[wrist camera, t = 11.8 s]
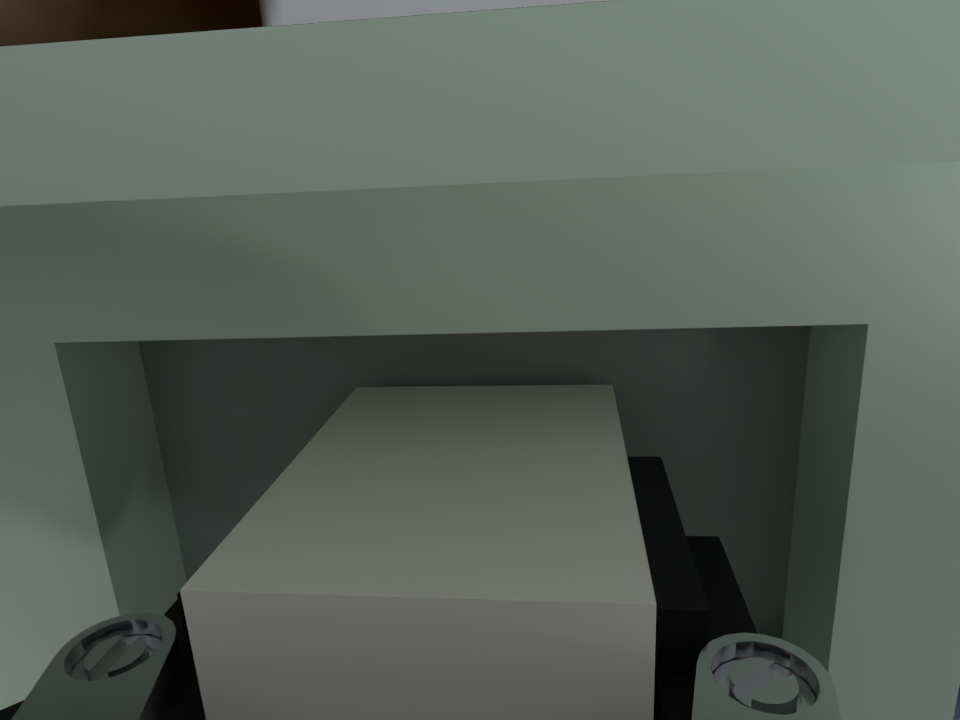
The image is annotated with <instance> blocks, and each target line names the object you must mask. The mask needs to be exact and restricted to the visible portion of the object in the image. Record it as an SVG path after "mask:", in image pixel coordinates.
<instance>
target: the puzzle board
mask: <svg viewBox="0 0 960 720" xmlns="http://www.w3.org/2000/svg"><path fill="white" fill-rule="evenodd" d="M509 385H613V389H614V394H615V399H616V404H617V409H618V414H619V419H620V424H621V429H622V434H623V439H624V444H625V449H626V454H627V456H647V457H661V458H662V461H663V464H664V467H665V471H666V474H667V477H668V480H669V483H670V487H671V490H672V493H673V496H674V500H675V503H676V506H677V509H678V512H679V516H680V519H681V522H682V525H683V529H684V532H685V535H686V536H717V537H719V539H720V541H721V542H722V545H723V547H724V550H725V552H726V555H727V558H728V560H729V563H730V565H731V568H732V570H733V573H734V575H735V578H736V580H737V583H738V585H739V588H740V590H741V593H742V595H743V598H744V601H745V603H746V606H747V608H748V611H749V613H750V616H751V618H752V621H753V623H754V626H755V628H756V631H757V633H758V634H764V635H768V636H771V637H775V638H779V639H782V640H785V641H787V642H789V643H791V644H793V645H795V646H798V647H800V648H802V649H803V650H804V651H806V652H807V653H809V654H810V655H811V656H813V657H814V658H815V659H817V660H818V661H819V662H820V663H821V665H822V666H823V667H824V668H825V669H826V670H827V672H828V673H829V674H830V676H831V679H832V681H833V684H834V686H835V689H836V695H837V701H838V707H839V713H840V719H841V720H953V718H954V713H955V707H956V702H957V696H958V691H959V686H960V0H614V1H602V2H588V3H574V4H562V5H547V6H534V7H521V8H508V9H494V10H482V11H468V12H454V13H442V14H428V15H414V16H401V17H388V18H376V19H361V20H348V21H335V22H321V23H308V24H295V25H282V26H268V27H255V28H242V29H228V30H215V31H202V32H188V33H175V34H162V35H148V36H135V37H122V38H109V39H95V40H82V41H69V42H55V43H42V44H29V45H15V46H2V47H0V710H2V709H4V708H7V707H9V706H11V705H14V704H16V703H18V702H21V701H23V700H25V699H26V697H27V696H28V694H29V693H30V691H31V690H32V688H33V687H34V685H35V684H36V682H37V681H38V680H39V678H40V677H41V675H42V674H43V672H44V671H45V669H46V668H47V666H48V665H49V663H50V662H51V660H52V659H53V658H54V656H55V655H56V654H57V653H58V651H59V650H60V649H61V648H62V647H63V646H64V645H65V644H66V643H67V642H68V641H70V640H71V639H72V638H74V637H75V636H76V635H78V634H79V633H80V632H82V631H84V630H86V629H88V628H90V627H92V626H93V625H95V624H97V623H99V622H102V621H105V620H108V619H111V618H114V617H116V616H121V615H126V614H131V613H144V612H152V613H156V614H160V615H164V614H165V613H166V612H167V611H168V609H169V608H170V607H171V606H172V605H173V604H174V602H175V601H176V600H177V599H178V598H177V593H178V592H179V591H180V590H181V588H182V587H183V586H184V585H185V584H186V583H187V582H188V580H189V579H190V578H191V577H192V576H193V575H194V574H195V572H196V571H197V570H198V569H199V568H200V567H201V565H202V564H203V563H204V562H205V561H206V560H207V559H208V557H209V556H210V555H211V554H212V553H213V552H214V551H215V549H216V548H217V547H218V546H219V545H220V544H221V543H222V541H223V540H224V539H225V538H226V537H227V536H228V534H229V533H230V532H231V531H232V530H233V529H234V528H235V526H236V525H237V524H238V523H239V522H240V521H241V520H242V518H243V517H244V516H245V515H246V514H247V513H248V511H249V510H250V509H251V508H252V507H253V506H254V505H255V503H256V502H257V501H258V500H259V499H260V498H261V496H262V495H263V494H264V493H265V492H266V491H267V490H268V488H269V487H270V486H271V485H272V484H273V483H274V482H275V480H276V479H277V478H278V477H279V476H280V475H281V473H282V472H283V471H284V470H285V469H286V468H287V467H288V465H289V464H290V463H291V462H292V461H293V460H294V459H295V457H296V456H297V455H298V454H299V453H300V452H301V451H302V449H303V448H304V447H305V446H306V445H307V444H308V443H309V441H310V440H311V439H312V438H313V437H314V436H315V435H316V433H317V432H318V431H319V430H320V429H321V428H322V427H323V425H324V424H325V423H326V422H327V421H328V420H329V418H330V417H331V416H332V415H333V414H334V413H335V412H336V410H337V409H338V408H339V407H340V406H341V405H342V404H343V402H344V401H345V400H346V399H347V398H348V397H349V396H350V394H351V393H352V392H353V391H354V390H355V389H356V387H402V386H509Z"/></svg>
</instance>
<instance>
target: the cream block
mask: <svg viewBox="0 0 960 720" xmlns="http://www.w3.org/2000/svg"><path fill="white" fill-rule="evenodd" d="M180 593H181V598H182V603H183V608H184V613H185V618H186V623H187V628H188V633H189V638H190V643H191V648H192V652H193V657H194V662H195V667H196V672H197V677H198V682H199V687H200V692H201V697H202V702H203V707H204V712H205V717H206V720H653V718H654V680H655V643H656V606H657V604H656V599H655V594H654V589H653V584H652V579H651V574H650V569H649V564H648V559H647V554H646V549H645V544H644V539H643V534H642V529H641V524H640V519H639V514H638V509H637V504H636V499H635V494H634V489H633V484H632V479H631V474H630V469H629V464H628V459H627V454H626V449H625V444H624V439H623V434H622V429H621V424H620V419H619V414H618V409H617V404H616V399H615V394H614V389H613V385H509V386H402V387H356V389H355V390H354V391H353V392H352V393H351V394H350V396H349V397H348V398H347V399H346V400H345V401H344V402H343V404H342V405H341V406H340V407H339V408H338V409H337V410H336V412H335V413H334V414H333V415H332V416H331V417H330V418H329V420H328V421H327V422H326V423H325V424H324V425H323V427H322V428H321V429H320V430H319V431H318V432H317V433H316V435H315V436H314V437H313V438H312V439H311V440H310V441H309V443H308V444H307V445H306V446H305V447H304V448H303V449H302V451H301V452H300V453H299V454H298V455H297V456H296V458H295V459H294V460H293V461H292V462H291V463H290V464H289V466H288V467H287V468H286V469H285V470H284V471H283V472H282V474H281V475H280V476H279V477H278V478H277V479H276V481H275V482H274V483H273V484H272V485H271V486H270V487H269V489H268V490H267V491H266V492H265V493H264V494H263V495H262V497H261V498H260V499H259V500H258V501H257V502H256V503H255V505H254V506H253V507H252V508H251V509H250V510H249V512H248V513H247V514H246V515H245V516H244V517H243V518H242V520H241V521H240V522H239V523H238V524H237V525H236V526H235V528H234V529H233V530H232V531H231V532H230V533H229V534H228V536H227V537H226V538H225V539H224V540H223V541H222V543H221V544H220V545H219V546H218V547H217V548H216V549H215V551H214V552H213V553H212V554H211V555H210V556H209V557H208V559H207V560H206V561H205V562H204V563H203V564H202V565H201V567H200V568H199V569H198V570H197V571H196V572H195V574H194V575H193V576H192V577H191V578H190V579H189V580H188V582H187V583H186V584H185V585H184V586H183V587H182V588H181V590H180Z"/></svg>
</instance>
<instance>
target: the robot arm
mask: <svg viewBox="0 0 960 720" xmlns="http://www.w3.org/2000/svg"><path fill="white" fill-rule="evenodd" d="M295 458H296V457H295ZM627 459H628V464H629V469H630V474H631V479H632V484H633V489H634V494H635V499H636V504H637V509H638V514H639V519H640V524H641V529H642V534H643V539H644V544H645V549H646V554H647V559H648V564H649V569H650V574H651V579H652V584H653V589H654V594H655V599H656V604H657V606H656V643H655V680H654V718H653V720H841V719H840V713H839V707H838V701H837V695H836V689H835V686H834V684H833V681H832V679H831V676H830V674H829V673H828V672H827V670H826V669H825V668H824V667H823V666H822V665H821V663H820V662H819V661H818V660H817V659H815V658H814V657H813V656H811V655H810V654H809V653H807V652H806V651H804V650H803V649H802V648H800V647H798V646H795V645H793V644H791V643H789V642H787V641H785V640H782V639H779V638H775V637H771V636H768V635H764V634H758V633H757V631H756V628H755V626H754V623H753V621H752V618H751V616H750V613H749V611H748V608H747V606H746V603H745V601H744V598H743V595H742V593H741V590H740V588H739V585H738V583H737V580H736V578H735V575H734V573H733V570H732V568H731V565H730V563H729V560H728V558H727V555H726V552H725V550H724V547H723V545H722V542H721V541H720V539H719V537H717V536H686V535H685V532H684V529H683V525H682V522H681V519H680V516H679V512H678V509H677V506H676V503H675V500H674V496H673V493H672V490H671V487H670V483H669V480H668V477H667V474H666V471H665V467H664V464H663V461H662V458H661V457H647V456H627ZM288 466H289V465H288ZM281 474H282V473H281ZM275 481H276V480H275ZM268 489H269V488H268ZM261 497H262V496H261ZM248 512H249V511H248ZM177 598H178V599H177V600H176V601H175V602H174V604H173V605H172V606H171V607H170V608H169V609H168V611H167V612H166V613H165V614H164V615H160V614H156V613H152V612H144V613H131V614H126V615H121V616H116V617H114V618H111V619H108V620H105V621H102V622H99V623H97V624H95V625H93V626H92V627H90V628H88V629H86V630H84V631H82V632H80V633H79V634H78V635H76V636H75V637H74V638H72V639H71V640H70V641H68V642H67V643H66V644H65V645H64V646H63V647H62V648H61V649H60V650H59V651H58V653H57V654H56V655H55V656H54V658H53V659H52V660H51V662H50V663H49V665H48V666H47V668H46V669H45V671H44V672H43V674H42V675H41V677H40V678H39V680H38V681H37V682H36V684H35V685H34V687H33V688H32V690H31V691H30V693H29V694H28V696H27V697H26V699H25V700H23V701H21V702H18V703H16V704H14V705H11V706H9V707H7V708H4V709H2V710H0V720H206V717H205V712H204V707H203V702H202V697H201V692H200V687H199V682H198V677H197V672H196V667H195V662H194V657H193V652H192V648H191V643H190V638H189V633H188V628H187V623H186V618H185V613H184V608H183V603H182V598H181V593H180V591H179V592H178V593H177Z"/></svg>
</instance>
